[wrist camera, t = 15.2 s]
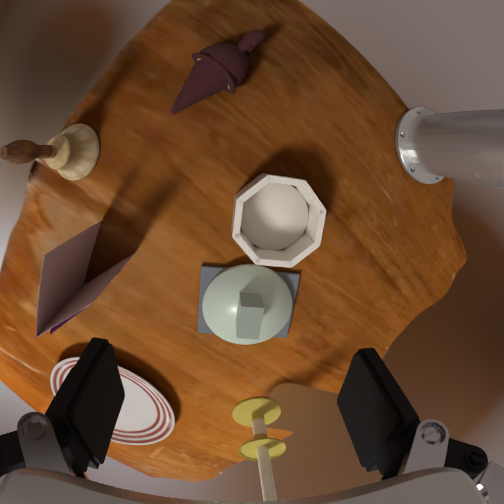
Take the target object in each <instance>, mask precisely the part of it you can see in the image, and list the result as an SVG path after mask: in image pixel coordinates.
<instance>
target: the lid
mask: <svg viewBox="0 0 504 504" xmlns="http://www.w3.org/2000/svg"><path fill="white" fill-rule="evenodd" d="M202 310H203V316H204V319H205V321H206V323H207V325H208V326H209V328H210V329H211V330H212V331H213V332H214V333H215V334H216V335H217V336H219V337H220V338H222V339H224V340H226V341H229V342H231V343H236V344H255V343H260V342H263V341H265V340H268V339H270V338H271V337H273V336H274V335H276V334H277V333H278V332H279V331H280V330H282V328H283V327H284V326H285V325H286V323H287V321H288V319H289V317H290V314H291V311H292V297H291V293H290V291H289V288H288V286H287V284H286V283H285V281H284V280H283V279H282V278H281V277H280V275H278V274H277V273H276V272H275V271H273V270H271V269H269V268H267V267H264V266H261V265H255V264H240V265H236V266H232V267H230V268H227V269H226V270H224V271H222V272H220V273H219V274H218V275H217V276H215V277H214V278H213V279H212V281H211V282H210V283H209V285H208V286H207V288H206V290H205V293H204V297H203V304H202Z"/></svg>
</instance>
